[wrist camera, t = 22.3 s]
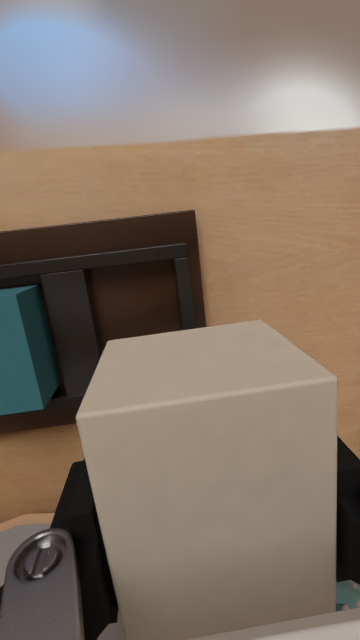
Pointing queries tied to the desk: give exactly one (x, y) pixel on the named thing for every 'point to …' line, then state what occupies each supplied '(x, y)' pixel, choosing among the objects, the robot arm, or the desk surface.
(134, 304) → the back plate
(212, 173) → the desk surface
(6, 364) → the teal pad
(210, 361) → the cream pad
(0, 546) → the desk lamp
